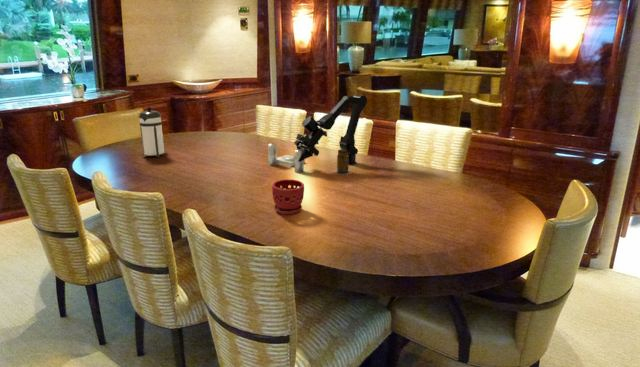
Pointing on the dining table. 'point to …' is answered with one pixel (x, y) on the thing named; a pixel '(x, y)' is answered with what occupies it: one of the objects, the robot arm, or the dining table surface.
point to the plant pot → (288, 196)
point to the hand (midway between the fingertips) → (296, 160)
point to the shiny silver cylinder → (298, 165)
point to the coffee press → (151, 133)
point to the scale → (287, 160)
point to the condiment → (342, 162)
